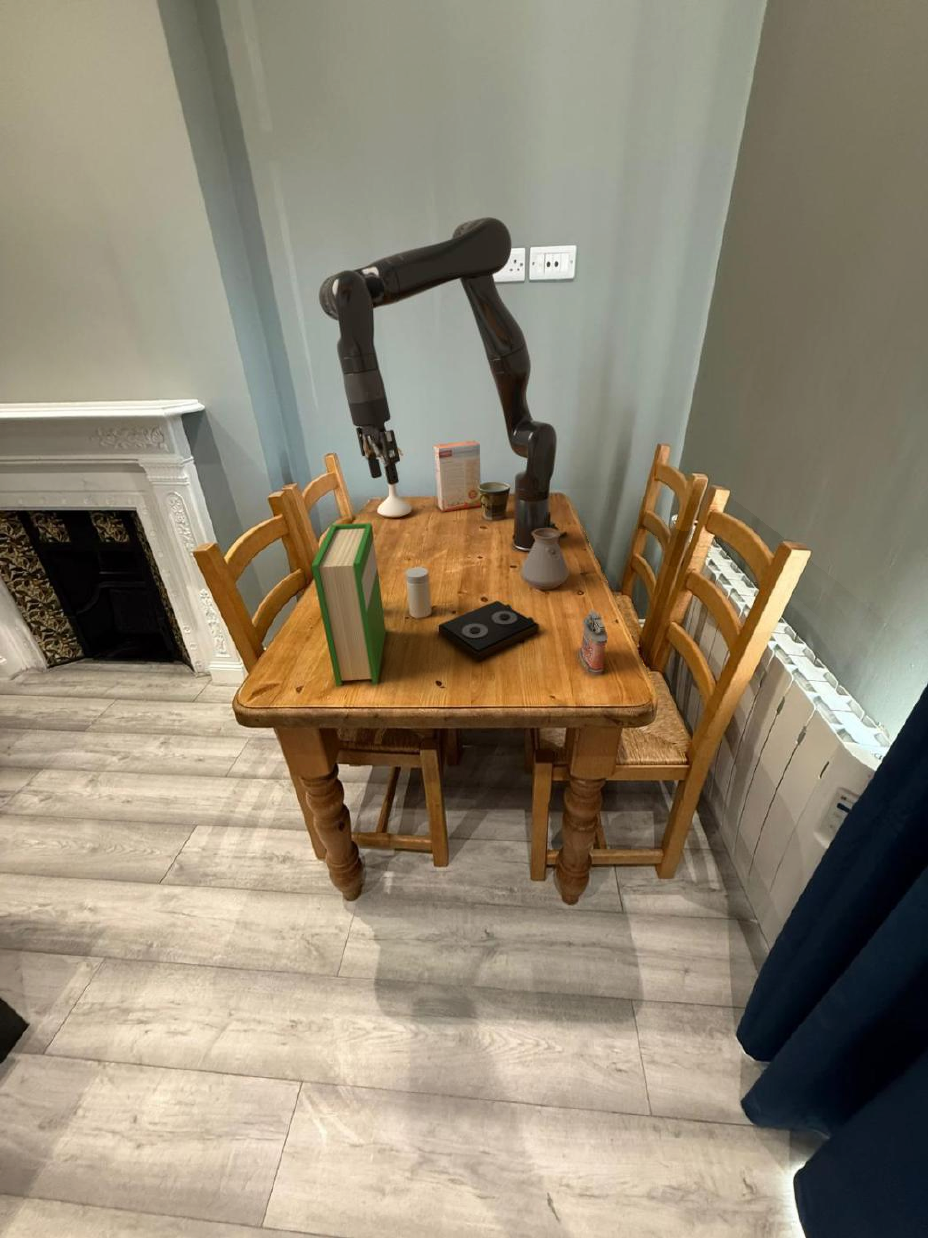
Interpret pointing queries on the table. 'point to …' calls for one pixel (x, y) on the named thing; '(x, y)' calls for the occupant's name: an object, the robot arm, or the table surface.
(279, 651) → the table surface
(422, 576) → the salt shaker
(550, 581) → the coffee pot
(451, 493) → the cracker box
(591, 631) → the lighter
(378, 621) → the hardback book
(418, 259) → the robot arm
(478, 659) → the stove
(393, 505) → the flower in vase
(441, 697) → the table surface
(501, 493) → the ceramic cup
